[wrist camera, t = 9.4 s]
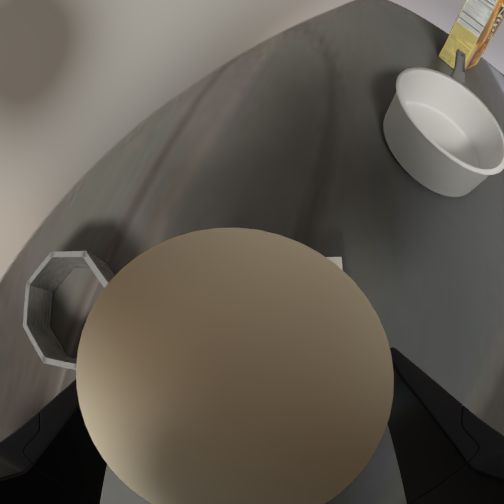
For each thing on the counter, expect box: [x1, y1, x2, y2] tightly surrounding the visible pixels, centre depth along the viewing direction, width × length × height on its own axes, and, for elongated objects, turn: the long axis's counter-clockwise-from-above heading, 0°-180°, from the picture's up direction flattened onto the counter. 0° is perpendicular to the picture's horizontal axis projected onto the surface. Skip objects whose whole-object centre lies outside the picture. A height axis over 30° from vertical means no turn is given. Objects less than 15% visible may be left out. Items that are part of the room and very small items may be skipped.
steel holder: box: [23, 250, 115, 370], centre depth 18 cm, size 8×8×3 cm
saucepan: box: [383, 49, 504, 197], centre depth 21 cm, size 12×20×6 cm, turn 149°
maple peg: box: [76, 228, 394, 504], centre depth 10 cm, size 5×5×13 cm
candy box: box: [439, 0, 504, 70], centre depth 20 cm, size 9×4×15 cm, turn 128°
